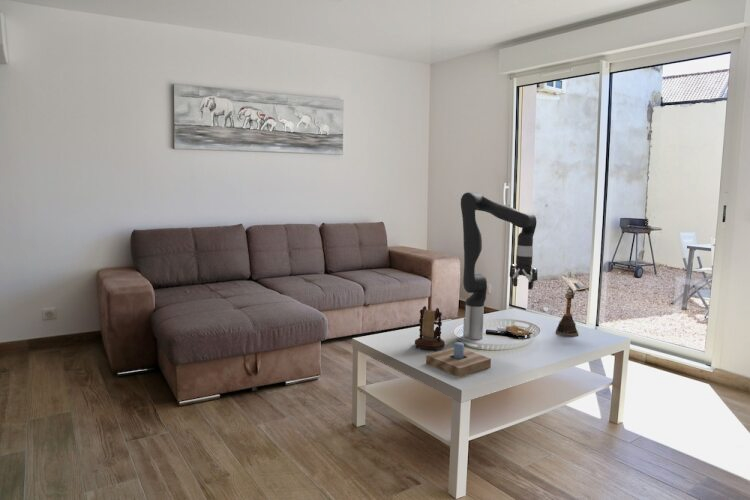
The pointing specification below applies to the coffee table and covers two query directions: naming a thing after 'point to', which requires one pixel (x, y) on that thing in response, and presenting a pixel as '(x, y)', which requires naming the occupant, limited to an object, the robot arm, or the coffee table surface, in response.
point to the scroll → (430, 330)
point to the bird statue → (569, 306)
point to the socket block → (458, 362)
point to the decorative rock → (517, 331)
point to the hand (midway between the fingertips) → (522, 287)
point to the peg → (458, 350)
